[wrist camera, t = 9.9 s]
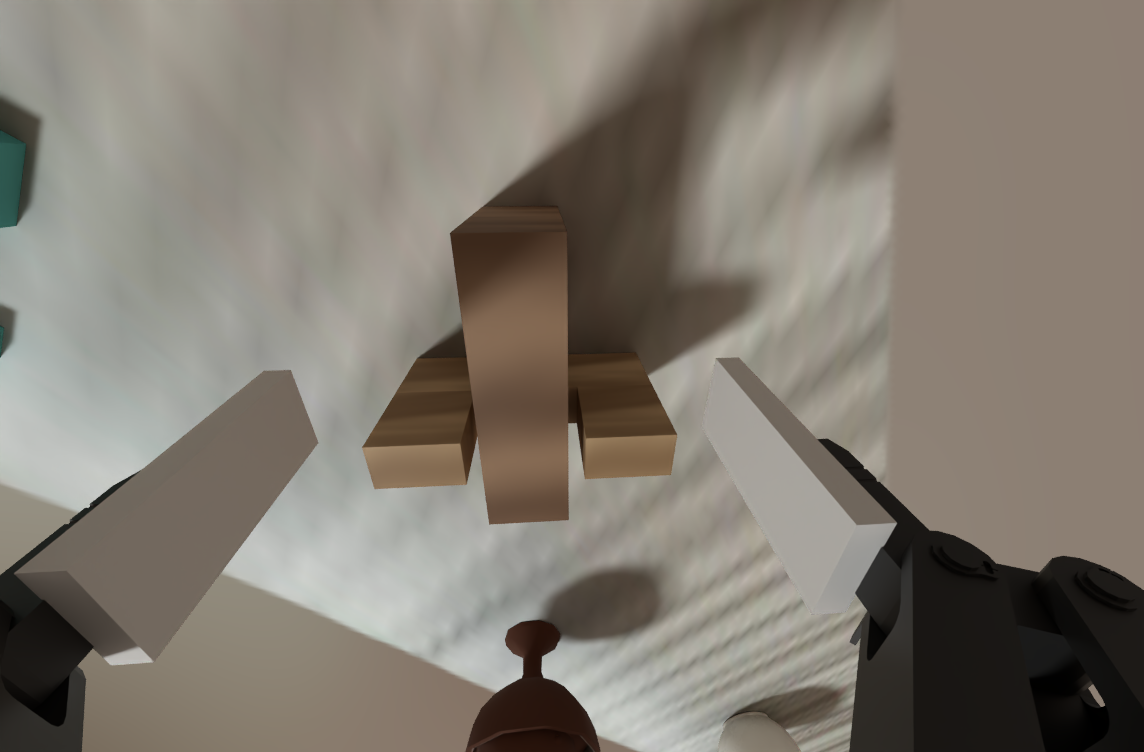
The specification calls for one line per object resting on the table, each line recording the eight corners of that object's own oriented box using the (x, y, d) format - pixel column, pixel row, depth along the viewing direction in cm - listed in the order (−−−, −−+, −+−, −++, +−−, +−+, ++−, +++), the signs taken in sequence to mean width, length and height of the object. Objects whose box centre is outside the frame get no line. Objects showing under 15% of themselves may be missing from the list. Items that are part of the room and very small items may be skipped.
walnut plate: (482, 206, 22) (450, 233, 14) (557, 206, 22) (567, 232, 14) (503, 422, 28) (489, 524, 20) (560, 420, 29) (568, 520, 21)
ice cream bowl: (589, 659, 43) (612, 878, 30) (485, 671, 43) (462, 898, 30) (585, 598, 38) (610, 828, 25) (467, 611, 38) (429, 851, 25)
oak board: (417, 358, 26) (362, 447, 18) (635, 352, 26) (677, 434, 19) (423, 391, 27) (374, 489, 19) (632, 384, 28) (670, 474, 20)
